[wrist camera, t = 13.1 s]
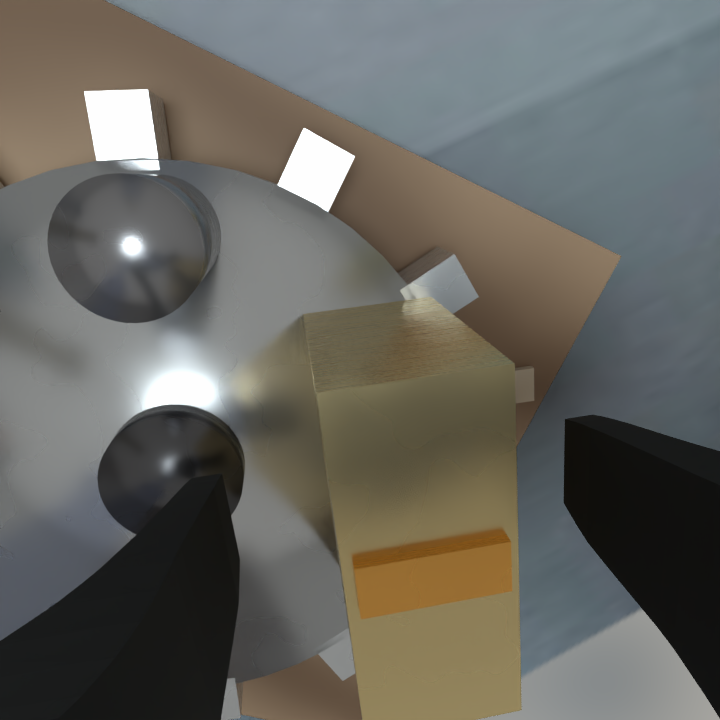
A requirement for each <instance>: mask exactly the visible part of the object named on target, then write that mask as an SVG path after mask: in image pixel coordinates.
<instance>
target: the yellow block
mask: <svg viewBox="0 0 720 720" xmlns="http://www.w3.org/2000/svg"><path fill="white" fill-rule="evenodd" d="M303 315H304V322H305V329H306V336H307V343H308V350H309V357H310V364H311V371H312V378H313V385H314V392H315V399H316V406H317V413H318V420H319V428H320V435H321V442H322V449H323V456H324V463H325V470H326V477H327V484H328V491H329V498H330V505H331V512H332V519H333V526H334V533H335V540H336V547H337V554H338V561H339V568H340V574H341V581H342V588H343V594H344V601H345V608H346V614H347V621H348V628H349V634H350V641H351V647H352V654H353V661H354V667H355V674H356V681H357V687H358V694H359V701H360V707H361V714H362V720H476V719H481V718H486V717H490V716H495V715H500V714H505V713H510V712H514V711H520V710H521V660H520V608H519V556H518V504H517V452H516V400H515V363H513V362H512V361H511V360H510V359H508V358H507V357H506V356H505V355H503V354H502V353H501V352H500V351H498V350H497V349H496V348H495V347H493V346H492V345H491V344H490V343H488V342H487V341H486V340H485V339H483V338H482V337H481V336H480V335H478V334H477V333H476V332H475V331H473V330H472V329H471V328H470V327H468V326H467V325H466V324H465V323H463V322H462V321H461V320H460V319H458V318H457V317H456V316H455V315H453V314H452V313H451V312H450V311H448V310H447V309H446V308H445V307H443V306H442V305H441V304H440V303H438V302H437V301H436V300H435V299H433V298H432V297H426V298H418V299H411V300H403V301H396V302H389V303H381V304H374V305H366V306H359V307H352V308H344V309H337V310H330V311H322V312H315V313H307V314H303Z"/></svg>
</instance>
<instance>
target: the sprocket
mask: <svg viewBox="0 0 720 720" xmlns="http://www.w3.org/2000/svg"><path fill="white" fill-rule="evenodd" d="M84 93H85V99H86V104H87V110H88V115H89V121H90V127H91V132H92V138H93V143H94V149H95V154H96V160H97V161H93V162H89V163H84V164H79V165H74V166H69V167H64V168H59V169H54V170H50V171H47V172H44V173H41V174H39V175H36V176H33V177H30V178H27V179H25V180H22V181H19V182H16V183H13V184H11V185H8V186H6V187H4V186H3V185H2V183H1V182H0V641H1V640H2V639H4V638H5V637H7V636H8V635H10V634H11V633H13V632H14V631H16V630H17V629H19V628H20V627H22V626H23V625H25V624H26V623H28V622H29V621H31V620H32V619H34V618H35V617H37V616H38V615H40V614H41V613H43V612H44V611H46V610H47V609H49V608H50V607H51V606H53V605H54V604H55V603H57V602H58V601H60V600H61V599H62V598H63V597H65V596H66V595H67V594H69V593H70V592H71V591H73V590H74V589H75V588H76V587H78V586H79V585H80V584H82V583H83V582H84V581H85V580H87V579H88V578H89V577H90V576H91V575H93V574H94V573H95V572H96V571H97V570H99V569H100V568H101V567H102V566H103V565H104V564H105V563H107V562H108V561H109V560H110V559H111V558H112V557H113V556H114V555H115V554H116V553H117V552H118V551H119V550H120V549H122V548H123V547H124V546H125V545H126V544H127V543H128V542H129V541H130V540H131V539H132V538H133V537H134V536H136V535H137V534H138V533H139V532H140V531H141V530H142V529H143V528H144V527H145V526H146V525H147V523H148V522H149V521H150V520H151V519H152V518H153V517H154V516H155V515H156V514H157V513H158V512H159V511H160V510H161V509H162V508H163V507H164V506H165V505H166V504H167V503H168V502H169V501H170V499H171V498H172V497H173V496H174V495H175V494H176V493H177V492H178V491H179V490H180V489H181V488H182V487H183V486H184V485H185V484H186V483H187V482H188V481H189V480H190V479H191V478H195V477H202V476H208V475H214V474H221V473H222V475H223V479H224V484H225V489H226V494H227V499H228V503H229V508H230V513H231V518H232V523H233V528H234V532H235V537H236V542H237V547H238V552H239V556H240V584H239V606H238V613H237V620H236V626H235V633H234V639H233V646H232V652H231V658H230V665H229V671H228V677H227V684H226V690H225V696H224V703H223V709H222V716H221V720H230V719H236V718H241V708H242V694H243V682H245V681H248V680H252V679H256V678H260V677H263V676H267V675H270V674H273V673H275V672H278V671H281V670H283V669H286V668H289V667H291V666H294V665H296V664H299V663H301V662H303V661H305V660H307V659H309V658H311V657H313V656H315V655H317V654H318V655H319V656H320V657H321V658H322V659H323V660H324V661H325V662H326V663H327V664H328V665H329V667H330V668H331V669H332V670H333V671H334V672H335V673H336V674H337V675H338V676H339V677H340V679H341V680H342V681H344V680H345V679H347V678H348V677H350V676H352V675H353V674H355V667H354V661H353V654H352V647H351V641H350V634H349V628H348V621H347V614H346V608H345V601H344V594H343V588H342V581H341V574H340V568H339V561H338V554H337V547H336V540H335V533H334V526H333V519H332V512H331V505H330V498H329V491H328V484H327V477H326V470H325V463H324V456H323V449H322V442H321V435H320V428H319V420H318V413H317V406H316V399H315V392H314V385H313V378H312V371H311V364H310V357H309V350H308V343H307V336H306V329H305V322H304V315H303V314H307V313H315V312H322V311H330V310H337V309H344V308H352V307H359V306H366V305H374V304H381V303H389V302H396V301H403V300H411V299H418V298H426V297H432V298H433V299H435V300H436V301H437V302H438V303H440V304H441V305H442V306H443V307H445V308H446V309H447V310H448V311H450V312H451V313H452V314H453V313H455V312H457V311H458V310H460V309H461V308H463V307H464V306H466V305H467V304H469V303H470V302H472V301H473V300H475V299H476V298H478V297H479V296H478V294H477V293H476V291H475V289H474V287H473V286H472V284H471V282H470V280H469V279H468V277H467V275H466V273H465V271H464V270H463V268H462V266H461V264H460V263H459V261H458V259H457V257H456V256H455V254H453V253H451V252H449V251H446V250H444V249H442V248H440V247H436V248H434V249H433V250H431V251H430V252H428V253H427V254H425V255H424V256H422V257H421V258H419V259H418V260H416V261H415V262H413V263H412V264H410V265H409V266H407V267H406V268H404V269H403V270H401V271H400V272H398V273H397V272H396V271H395V269H394V268H393V267H392V266H391V265H390V264H389V262H388V261H387V260H386V259H385V258H384V257H383V256H382V255H381V254H380V253H379V252H378V251H377V250H376V249H375V248H374V247H372V246H371V245H370V244H369V243H368V242H367V241H366V240H365V239H363V238H362V237H361V236H360V235H359V234H358V233H357V232H356V231H354V230H353V229H352V228H351V227H350V226H348V225H347V224H345V223H344V222H342V221H341V220H340V219H338V218H337V217H335V216H334V215H332V214H331V213H329V212H328V211H329V209H330V207H331V205H332V203H333V201H334V199H335V197H336V195H337V192H338V190H339V188H340V186H341V184H342V182H343V180H344V178H345V176H346V174H347V172H348V170H349V168H350V166H351V164H352V161H353V159H354V157H355V156H353V155H351V154H350V153H348V152H346V151H344V150H343V149H341V148H339V147H337V146H335V145H334V144H332V143H330V142H328V141H326V140H325V139H323V138H321V137H319V136H318V135H316V134H314V133H312V132H310V131H309V130H307V129H305V128H304V129H303V131H302V133H301V135H300V137H299V139H298V141H297V144H296V146H295V148H294V150H293V152H292V155H291V157H290V159H289V161H288V163H287V166H286V168H285V170H284V172H283V174H282V176H281V179H280V181H279V183H278V184H276V183H273V182H270V181H267V180H265V179H262V178H259V177H256V176H253V175H250V174H247V173H244V172H241V171H237V170H233V169H228V168H223V167H218V166H213V165H208V164H203V163H198V162H192V161H181V160H171V154H170V147H169V140H168V133H167V125H166V118H165V111H164V104H163V99H162V98H160V97H159V96H157V95H155V94H154V93H152V92H151V91H149V90H114V91H84Z"/></svg>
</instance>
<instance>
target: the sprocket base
mask: <svg viewBox="0 0 720 720" xmlns="http://www.w3.org/2000/svg"><path fill="white" fill-rule="evenodd" d="M114 90H149V91H151V92H152V93H154V94H155V95H157V96H159V97H160V98H162V99H163V104H164V111H165V118H166V125H167V133H168V140H169V147H170V154H171V160H181V161H192V162H198V163H203V164H208V165H213V166H218V167H223V168H228V169H233V170H237V171H241V172H244V173H247V174H250V175H253V176H256V177H259V178H262V179H265V180H267V181H270V182H273V183H276V184H278V183H279V181H280V179H281V176H282V174H283V172H284V170H285V168H286V166H287V163H288V161H289V159H290V157H291V155H292V152H293V150H294V148H295V146H296V144H297V141H298V139H299V137H300V135H301V133H302V131H303V129H304V128H305V129H307V130H309V131H310V132H312V133H314V134H316V135H318V136H319V137H321V138H323V139H325V140H326V141H328V142H330V143H332V144H334V145H335V146H337V147H339V148H341V149H343V150H344V151H346V152H348V153H350V154H351V155H353V156H355V157H354V159H353V161H352V164H351V166H350V168H349V170H348V172H347V174H346V176H345V178H344V180H343V182H342V184H341V186H340V188H339V190H338V192H337V195H336V197H335V199H334V201H333V203H332V205H331V207H330V209H329V211H328V212H329V213H331V214H332V215H334V216H335V217H337V218H338V219H340V220H341V221H342V222H344V223H345V224H347V225H348V226H350V227H351V228H352V229H353V230H354V231H356V232H357V233H358V234H359V235H360V236H361V237H362V238H363V239H365V240H366V241H367V242H368V243H369V244H370V245H371V246H372V247H374V248H375V249H376V250H377V251H378V252H379V253H380V254H381V255H382V256H383V257H384V258H385V259H386V260H387V261H388V262H389V264H390V265H391V266H392V267H393V268H394V269H395V271H396V272H397V273H398V272H400V271H401V270H403V269H404V268H406V267H407V266H409V265H410V264H412V263H413V262H415V261H416V260H418V259H419V258H421V257H422V256H424V255H425V254H427V253H428V252H430V251H431V250H433V249H434V248H436V247H440V248H442V249H444V250H446V251H449V252H451V253H453V254H455V256H456V257H457V259H458V261H459V263H460V264H461V266H462V268H463V270H464V271H465V273H466V275H467V277H468V279H469V280H470V282H471V284H472V286H473V287H474V289H475V291H476V293H477V294H478V296H479V297H478V298H476V299H475V300H473V301H472V302H470V303H469V304H467V305H466V306H464V307H463V308H461V309H460V310H458V311H457V312H455V313H453V315H455V316H456V317H457V318H458V319H460V320H461V321H462V322H463V323H465V324H466V325H467V326H468V327H470V328H471V329H472V330H473V331H475V332H476V333H477V334H478V335H480V336H481V337H482V338H483V339H485V340H486V341H487V342H488V343H490V344H491V345H492V346H493V347H495V348H496V349H497V350H498V351H500V352H501V353H502V354H503V355H505V356H506V357H507V358H508V359H510V360H511V361H512V362H513V363H515V400H516V447H517V446H518V444H519V442H520V440H521V438H522V436H523V435H524V433H525V431H526V429H527V427H528V425H529V424H530V422H531V420H532V418H533V416H534V415H535V413H536V411H537V409H538V407H539V405H540V404H541V402H542V400H543V398H544V396H545V395H546V393H547V391H548V389H549V387H550V385H551V384H552V382H553V380H554V378H555V376H556V374H557V373H558V371H559V369H560V367H561V365H562V364H563V362H564V360H565V358H566V356H567V354H568V353H569V351H570V349H571V347H572V345H573V344H574V342H575V340H576V338H577V336H578V334H579V333H580V331H581V329H582V327H583V325H584V323H585V322H586V320H587V318H588V316H589V314H590V313H591V311H592V309H593V307H594V305H595V303H596V302H597V300H598V298H599V296H600V294H601V293H602V291H603V289H604V287H605V285H606V283H607V282H608V280H609V278H610V276H611V274H612V272H613V271H614V269H615V267H616V265H617V263H618V262H619V260H620V258H621V256H620V255H618V254H616V253H614V252H612V251H610V250H608V249H606V248H604V247H602V246H600V245H598V244H596V243H594V242H592V241H589V240H587V239H585V238H583V237H581V236H579V235H577V234H575V233H573V232H571V231H569V230H567V229H565V228H563V227H561V226H559V225H557V224H555V223H553V222H551V221H549V220H547V219H545V218H543V217H541V216H539V215H537V214H535V213H533V212H531V211H529V210H527V209H525V208H523V207H521V206H519V205H517V204H515V203H513V202H511V201H509V200H507V199H505V198H503V197H501V196H499V195H497V194H494V193H492V192H490V191H488V190H486V189H484V188H482V187H480V186H478V185H476V184H474V183H472V182H470V181H468V180H466V179H464V178H462V177H460V176H458V175H456V174H454V173H452V172H450V171H448V170H446V169H444V168H442V167H440V166H438V165H436V164H434V163H432V162H430V161H428V160H426V159H424V158H422V157H420V156H418V155H416V154H414V153H412V152H410V151H408V150H406V149H404V148H402V147H400V146H397V145H395V144H393V143H391V142H389V141H387V140H385V139H383V138H381V137H379V136H377V135H375V134H373V133H371V132H369V131H367V130H365V129H363V128H361V127H359V126H357V125H355V124H353V123H351V122H349V121H347V120H345V119H343V118H341V117H339V116H337V115H335V114H333V113H331V112H329V111H327V110H325V109H323V108H321V107H319V106H317V105H315V104H313V103H311V102H309V101H307V100H305V99H302V98H300V97H298V96H296V95H294V94H292V93H290V92H288V91H286V90H284V89H282V88H280V87H278V86H276V85H274V84H272V83H270V82H268V81H266V80H264V79H262V78H260V77H258V76H256V75H254V74H252V73H250V72H248V71H246V70H244V69H242V68H240V67H238V66H236V65H234V64H232V63H230V62H228V61H226V60H224V59H222V58H220V57H218V56H216V55H214V54H212V53H210V52H208V51H205V50H203V49H201V48H199V47H197V46H195V45H193V44H191V43H189V42H187V41H185V40H183V39H181V38H179V37H177V36H175V35H173V34H171V33H169V32H167V31H165V30H163V29H161V28H159V27H157V26H155V25H153V24H151V23H149V22H147V21H145V20H143V19H141V18H139V17H137V16H135V15H133V14H131V13H129V12H127V11H125V10H123V9H121V8H119V7H117V6H115V5H113V4H110V3H108V2H106V1H104V0H0V182H1V183H2V185H3V186H4V187H6V186H8V185H11V184H13V183H16V182H19V181H22V180H25V179H27V178H30V177H33V176H36V175H39V174H41V173H44V172H47V171H50V170H54V169H59V168H64V167H69V166H74V165H79V164H84V163H89V162H93V161H97V160H96V154H95V149H94V143H93V138H92V132H91V127H90V121H89V115H88V110H87V104H86V99H85V93H84V91H114ZM241 714H242V715H247V716H251V717H256V718H261V719H266V720H362V714H361V707H360V701H359V694H358V687H357V681H356V674H353V675H352V676H350V677H348V678H347V679H345V680H344V681H342V680H341V679H340V677H339V676H338V675H337V674H336V673H335V672H334V671H333V670H332V669H331V668H330V667H329V665H328V664H327V663H326V662H325V661H324V660H323V659H322V658H321V657H320V656H319V655H318V654H317V655H315V656H313V657H311V658H309V659H307V660H305V661H303V662H301V663H299V664H296V665H294V666H291V667H289V668H286V669H283V670H281V671H278V672H275V673H273V674H270V675H267V676H263V677H260V678H256V679H252V680H248V681H245V682H243V694H242V708H241Z"/></svg>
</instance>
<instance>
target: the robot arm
mask: <svg viewBox="0 0 720 720" xmlns="http://www.w3.org/2000/svg"><path fill="white" fill-rule="evenodd" d="M564 504H565V506H566V507H567V509H568V511H569V513H570V514H571V516H572V518H573V519H574V521H575V523H576V525H577V526H578V528H579V529H580V531H581V532H582V534H583V536H584V537H585V539H586V540H587V542H588V543H589V544H590V546H591V547H592V548H593V549H594V551H595V552H596V553H597V554H598V556H599V557H600V558H601V559H602V561H603V562H604V563H605V564H606V566H607V567H608V568H609V569H610V570H611V572H612V573H613V574H614V575H615V577H616V578H617V579H618V580H619V581H620V583H621V584H622V585H623V586H624V587H625V589H626V590H627V591H628V592H629V593H630V595H631V596H632V597H633V598H634V599H635V601H636V602H637V603H638V604H639V605H640V607H641V608H642V609H643V610H644V611H645V613H646V614H647V615H648V616H649V618H650V619H651V620H652V621H653V622H654V624H655V625H656V626H657V627H658V629H659V630H660V631H661V632H662V634H663V635H664V636H665V638H666V639H667V640H668V642H669V643H670V644H671V646H672V647H673V648H674V650H675V651H676V653H677V654H678V656H679V657H680V658H681V660H682V662H683V663H684V665H685V666H686V667H687V669H688V670H689V672H690V673H691V675H692V676H693V678H694V679H695V681H696V682H697V684H698V685H699V687H700V688H701V690H702V691H703V693H704V694H705V696H706V697H707V699H708V700H709V702H710V704H711V705H712V707H713V708H714V710H715V711H716V713H717V715H718V716H719V718H720V451H717V450H713V449H710V448H706V447H703V446H699V445H696V444H693V443H689V442H686V441H683V440H680V439H676V438H673V437H670V436H667V435H664V434H660V433H657V432H654V431H651V430H648V429H644V428H641V427H638V426H635V425H632V424H628V423H625V422H621V421H618V420H614V419H610V418H606V417H602V416H596V415H588V416H582V417H575V418H569V419H565V451H564ZM239 584H240V556H239V552H238V547H237V542H236V537H235V532H234V528H233V523H232V518H231V513H230V508H229V503H228V499H227V494H226V489H225V484H224V479H223V475H222V473H221V474H214V475H208V476H202V477H195V478H191V479H190V480H189V481H188V482H187V483H186V484H185V485H184V486H183V487H182V488H181V489H180V490H179V491H178V492H177V493H176V494H175V495H174V496H173V497H172V498H171V499H170V501H169V502H168V503H167V504H166V505H165V506H164V507H163V508H162V509H161V510H160V511H159V512H158V513H157V514H156V515H155V516H154V517H153V518H152V519H151V520H150V521H149V522H148V523H147V525H146V526H145V527H144V528H143V529H142V530H141V531H140V532H139V533H138V534H137V535H136V536H134V537H133V538H132V539H131V540H130V541H129V542H128V543H127V544H126V545H125V546H124V547H123V548H122V549H120V550H119V551H118V552H117V553H116V554H115V555H114V556H113V557H112V558H111V559H110V560H109V561H108V562H107V563H105V564H104V565H103V566H102V567H101V568H100V569H99V570H97V571H96V572H95V573H94V574H93V575H91V576H90V577H89V578H88V579H87V580H85V581H84V582H83V583H82V584H80V585H79V586H78V587H76V588H75V589H74V590H73V591H71V592H70V593H69V594H67V595H66V596H65V597H63V598H62V599H61V600H60V601H58V602H57V603H55V604H54V605H53V606H51V607H50V608H49V609H47V610H46V611H44V612H43V613H41V614H40V615H38V616H37V617H35V618H34V619H32V620H31V621H29V622H28V623H26V624H25V625H23V626H22V627H20V628H19V629H17V630H16V631H14V632H13V633H11V634H10V635H8V636H7V637H5V638H4V639H2V640H1V641H0V720H221V716H222V709H223V703H224V696H225V690H226V684H227V677H228V671H229V665H230V658H231V652H232V646H233V639H234V633H235V626H236V620H237V613H238V606H239Z"/></svg>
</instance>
